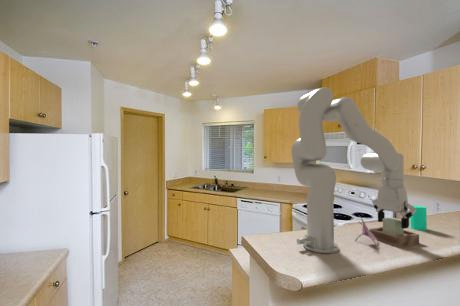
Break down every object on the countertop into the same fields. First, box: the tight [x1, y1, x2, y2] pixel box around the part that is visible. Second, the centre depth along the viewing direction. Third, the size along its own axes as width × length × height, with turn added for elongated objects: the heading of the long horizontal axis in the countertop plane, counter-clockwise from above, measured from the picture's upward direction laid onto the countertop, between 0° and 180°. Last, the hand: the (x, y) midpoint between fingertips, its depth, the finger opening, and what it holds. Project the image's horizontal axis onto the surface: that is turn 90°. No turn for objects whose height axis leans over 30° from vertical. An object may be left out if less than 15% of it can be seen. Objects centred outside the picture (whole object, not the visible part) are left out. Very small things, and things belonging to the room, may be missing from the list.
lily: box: [354, 216, 379, 247], centre depth 94 cm, size 12×12×10 cm
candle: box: [409, 204, 428, 231], centre depth 111 cm, size 6×6×12 cm
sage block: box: [382, 217, 404, 237], centre depth 96 cm, size 5×5×6 cm
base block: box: [368, 226, 420, 248], centre depth 96 cm, size 12×12×4 cm
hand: (392, 224), depth 96 cm, fingers open, 9 cm apart
